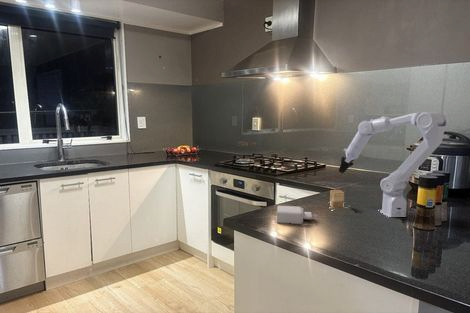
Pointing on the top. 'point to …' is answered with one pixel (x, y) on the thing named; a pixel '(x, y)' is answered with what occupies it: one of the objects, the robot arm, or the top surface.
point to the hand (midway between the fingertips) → (342, 169)
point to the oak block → (336, 198)
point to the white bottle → (292, 215)
